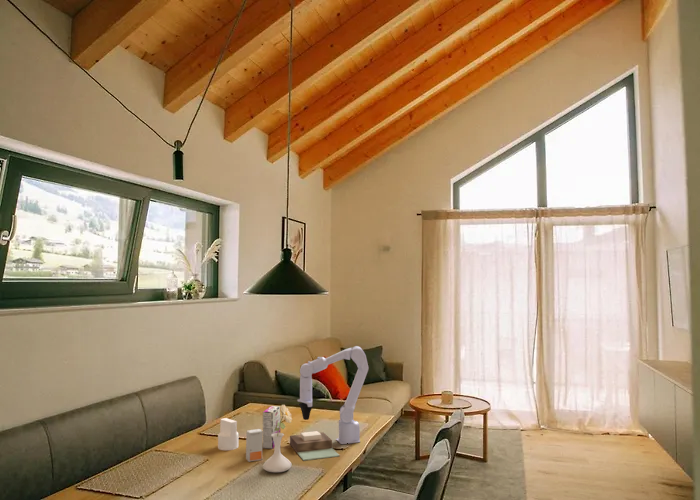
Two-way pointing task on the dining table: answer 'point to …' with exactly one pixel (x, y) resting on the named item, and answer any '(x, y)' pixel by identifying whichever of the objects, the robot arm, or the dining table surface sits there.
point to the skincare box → (254, 445)
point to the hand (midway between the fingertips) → (305, 419)
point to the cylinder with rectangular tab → (228, 435)
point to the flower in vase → (277, 459)
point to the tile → (310, 435)
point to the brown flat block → (310, 443)
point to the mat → (318, 454)
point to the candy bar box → (270, 425)
